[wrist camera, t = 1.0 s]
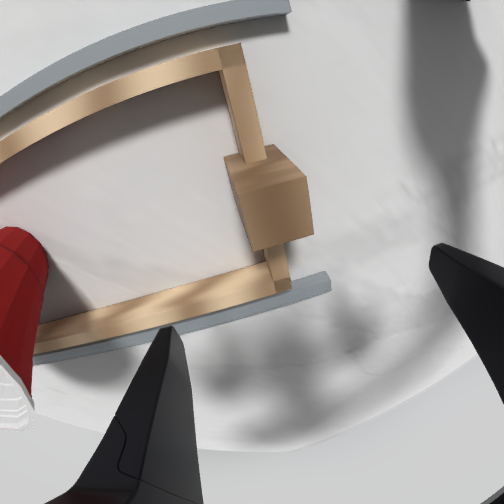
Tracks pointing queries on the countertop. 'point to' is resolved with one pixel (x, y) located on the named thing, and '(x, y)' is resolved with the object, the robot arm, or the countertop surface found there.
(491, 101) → the countertop surface
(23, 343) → the plastic cup
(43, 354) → the lane rails
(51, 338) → the wooden rectangular frame
